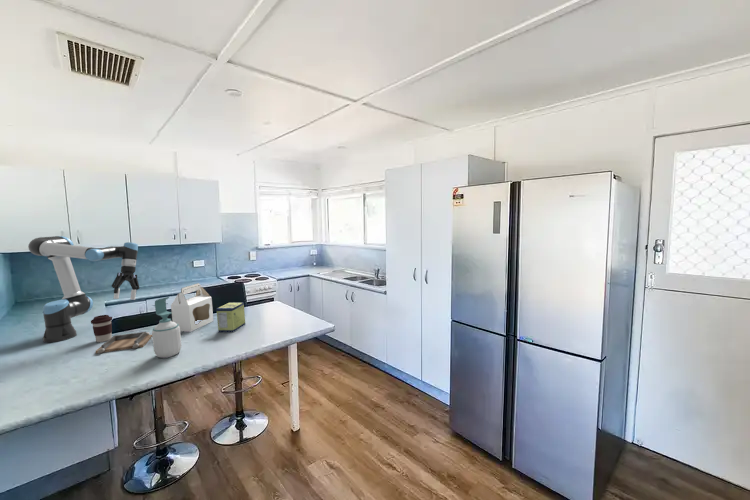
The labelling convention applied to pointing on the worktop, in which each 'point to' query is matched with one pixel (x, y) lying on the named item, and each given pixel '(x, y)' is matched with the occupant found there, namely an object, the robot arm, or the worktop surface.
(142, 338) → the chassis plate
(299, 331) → the worktop surface
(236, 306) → the protein box
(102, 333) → the coffee cup
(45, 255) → the robot arm
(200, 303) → the gable box
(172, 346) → the soap bottle
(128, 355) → the worktop surface
